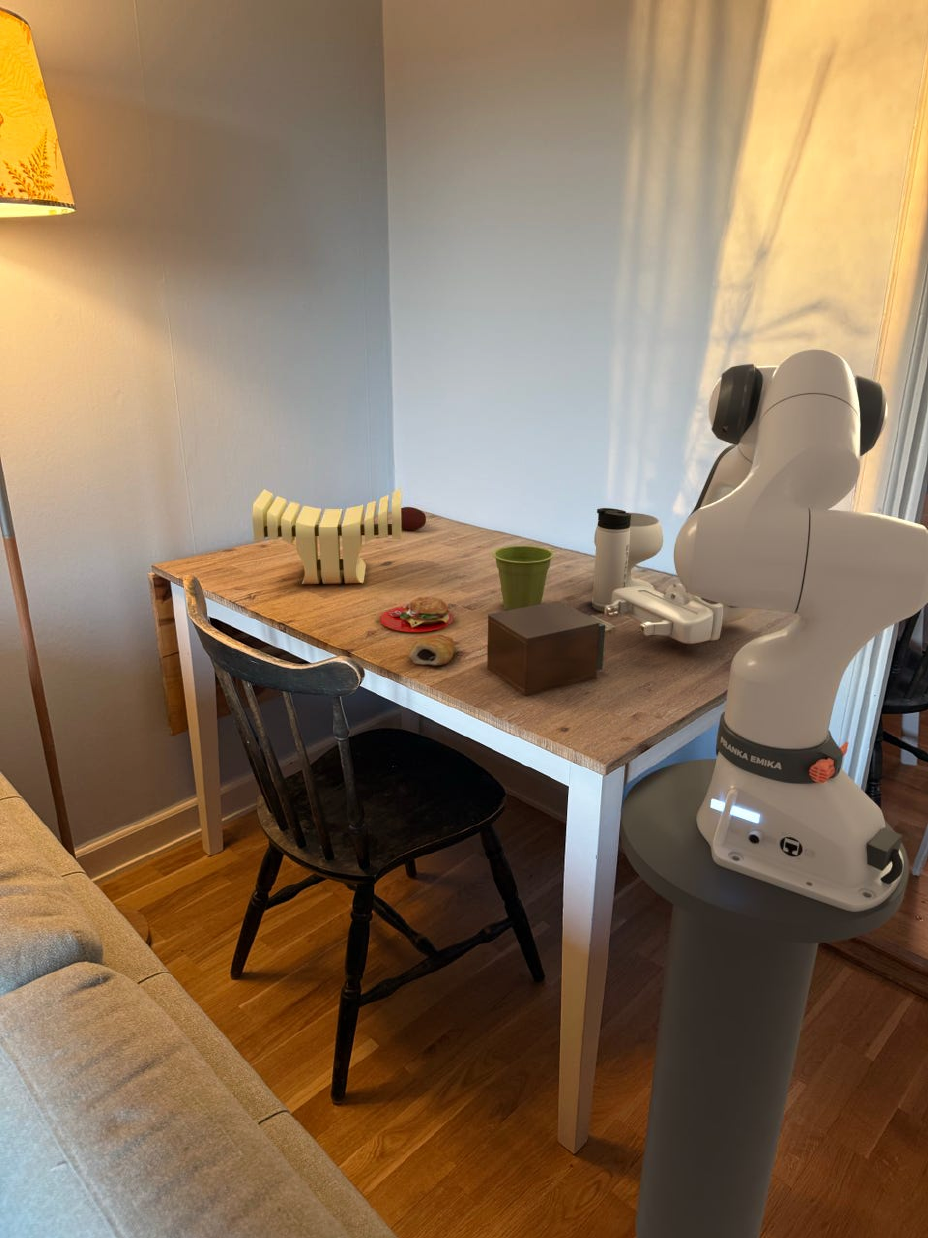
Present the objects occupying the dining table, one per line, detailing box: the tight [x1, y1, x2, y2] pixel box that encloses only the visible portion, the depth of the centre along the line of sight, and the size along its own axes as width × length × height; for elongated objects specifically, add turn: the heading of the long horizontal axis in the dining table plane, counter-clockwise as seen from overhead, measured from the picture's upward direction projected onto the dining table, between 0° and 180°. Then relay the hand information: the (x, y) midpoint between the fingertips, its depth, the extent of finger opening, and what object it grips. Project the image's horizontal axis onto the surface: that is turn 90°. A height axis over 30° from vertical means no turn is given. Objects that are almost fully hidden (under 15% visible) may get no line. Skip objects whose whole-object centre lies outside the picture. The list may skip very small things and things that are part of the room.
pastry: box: [409, 633, 456, 667], centre depth 140 cm, size 9×7×4 cm
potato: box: [401, 506, 427, 531], centre depth 216 cm, size 8×9×6 cm
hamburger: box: [379, 596, 455, 633], centre depth 156 cm, size 14×14×6 cm
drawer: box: [566, 604, 618, 672], centre depth 135 cm, size 17×10×8 cm, turn 119°
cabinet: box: [486, 600, 600, 697], centre depth 133 cm, size 14×12×10 cm
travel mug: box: [591, 507, 631, 613], centre depth 160 cm, size 6×7×20 cm
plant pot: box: [492, 545, 555, 611], centre depth 161 cm, size 12×12×11 cm
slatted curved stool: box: [252, 487, 403, 585], centre depth 178 cm, size 30×16×18 cm, turn 94°
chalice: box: [593, 512, 664, 590], centre depth 171 cm, size 14×14×15 cm
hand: (624, 620), depth 140 cm, fingers open, 8 cm apart
